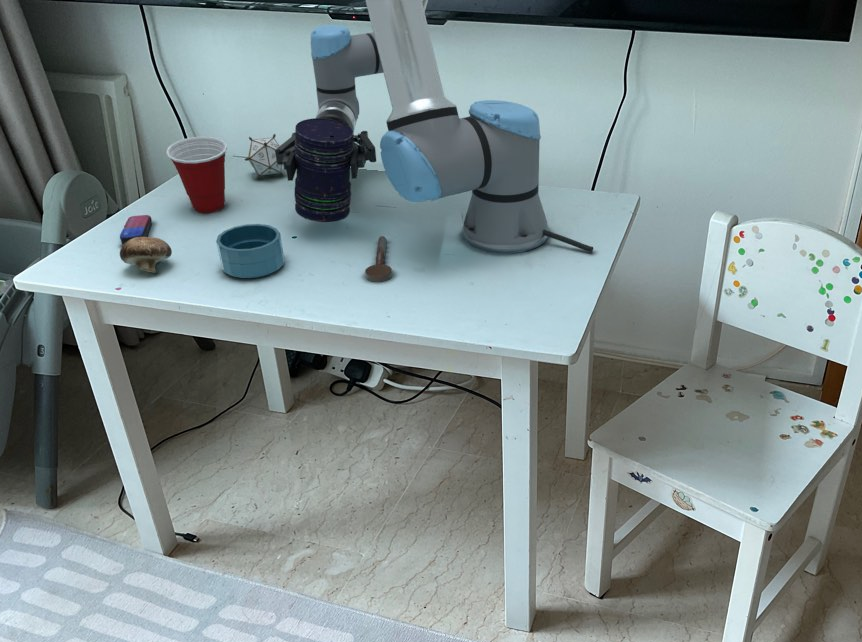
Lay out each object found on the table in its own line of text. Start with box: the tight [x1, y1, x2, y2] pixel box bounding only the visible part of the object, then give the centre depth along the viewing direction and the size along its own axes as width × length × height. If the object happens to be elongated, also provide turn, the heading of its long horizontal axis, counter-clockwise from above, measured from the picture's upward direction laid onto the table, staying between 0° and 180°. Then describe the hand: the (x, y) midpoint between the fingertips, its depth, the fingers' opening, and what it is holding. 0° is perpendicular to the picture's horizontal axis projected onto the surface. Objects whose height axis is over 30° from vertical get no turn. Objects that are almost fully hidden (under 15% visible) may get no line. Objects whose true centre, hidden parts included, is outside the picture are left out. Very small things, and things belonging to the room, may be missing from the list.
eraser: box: [119, 214, 153, 246], centre depth 161 cm, size 11×4×2 cm, turn 9°
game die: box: [244, 133, 284, 181], centre depth 182 cm, size 9×8×10 cm
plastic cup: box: [165, 136, 228, 214], centre depth 168 cm, size 11×11×12 cm
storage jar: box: [294, 117, 353, 224], centre depth 156 cm, size 10×10×15 cm
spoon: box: [364, 235, 393, 283], centre depth 153 cm, size 15×4×1 cm, turn 4°
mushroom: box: [119, 236, 173, 274], centre depth 149 cm, size 8×8×6 cm
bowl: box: [215, 223, 285, 279], centre depth 150 cm, size 10×10×6 cm
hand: (321, 172), depth 151 cm, fingers closed on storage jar, 10 cm apart
